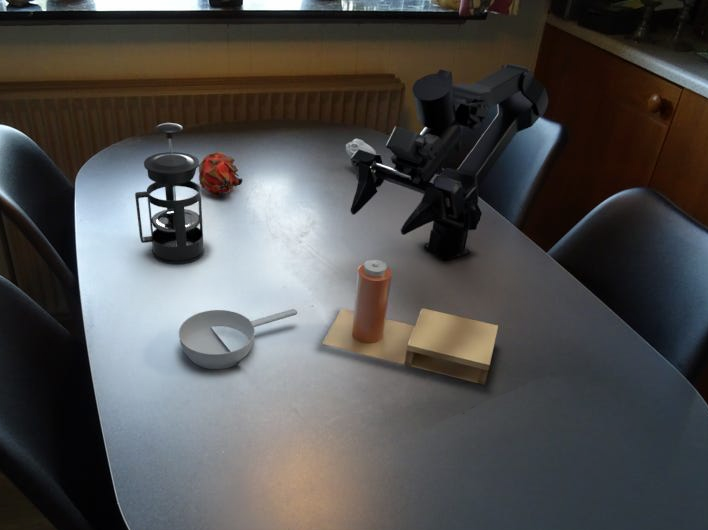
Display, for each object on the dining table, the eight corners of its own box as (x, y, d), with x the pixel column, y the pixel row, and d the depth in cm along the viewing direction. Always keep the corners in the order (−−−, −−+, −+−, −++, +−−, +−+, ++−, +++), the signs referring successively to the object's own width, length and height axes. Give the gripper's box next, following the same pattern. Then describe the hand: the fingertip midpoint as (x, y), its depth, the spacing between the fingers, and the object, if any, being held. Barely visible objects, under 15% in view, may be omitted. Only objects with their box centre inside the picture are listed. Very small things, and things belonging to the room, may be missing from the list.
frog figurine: (345, 162, 159) (347, 134, 155) (375, 166, 159) (378, 137, 155) (342, 172, 154) (345, 143, 150) (373, 176, 154) (376, 146, 150)
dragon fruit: (214, 184, 149) (229, 214, 141) (183, 167, 143) (196, 198, 136) (237, 154, 146) (253, 184, 138) (206, 136, 140) (221, 165, 133)
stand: (321, 348, 100) (323, 324, 98) (341, 313, 108) (343, 289, 105) (483, 389, 94) (489, 364, 92) (492, 349, 102) (498, 325, 100)
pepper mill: (371, 321, 105) (379, 251, 98) (389, 337, 102) (399, 266, 94) (345, 329, 103) (352, 258, 95) (363, 347, 99) (372, 274, 92)
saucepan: (170, 338, 100) (168, 317, 98) (281, 312, 107) (281, 291, 105) (194, 382, 92) (192, 360, 90) (311, 350, 100) (312, 329, 98)
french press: (202, 235, 126) (196, 114, 113) (213, 260, 119) (208, 133, 106) (138, 243, 123) (124, 118, 110) (145, 269, 116) (131, 139, 102)
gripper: (371, 95, 104) (313, 168, 99) (480, 127, 94) (421, 208, 90) (385, 147, 113) (332, 215, 108) (485, 180, 104) (432, 256, 99)
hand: (376, 222), depth 101 cm, fingers open, 9 cm apart
